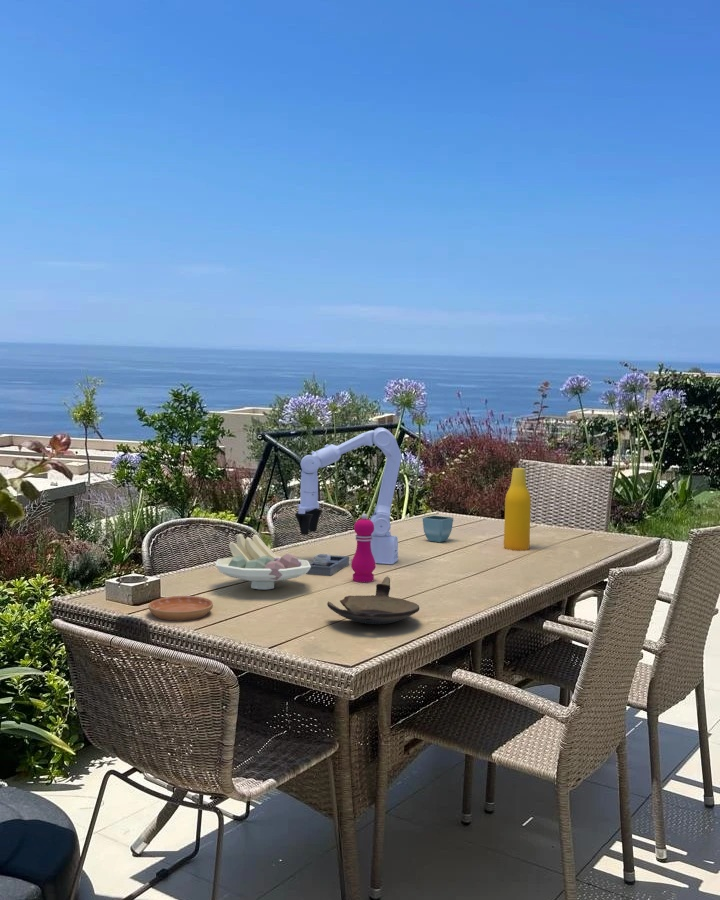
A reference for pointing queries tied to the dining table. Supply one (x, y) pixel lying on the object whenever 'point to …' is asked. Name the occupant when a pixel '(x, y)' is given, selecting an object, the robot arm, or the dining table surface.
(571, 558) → the dining table surface
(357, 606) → the oil lamp
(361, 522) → the pepper mill
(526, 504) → the beer bottle
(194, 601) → the saucer
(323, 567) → the blue-grey frame board
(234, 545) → the dish with food
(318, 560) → the grey metal block
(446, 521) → the flower pot
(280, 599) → the dining table surface
